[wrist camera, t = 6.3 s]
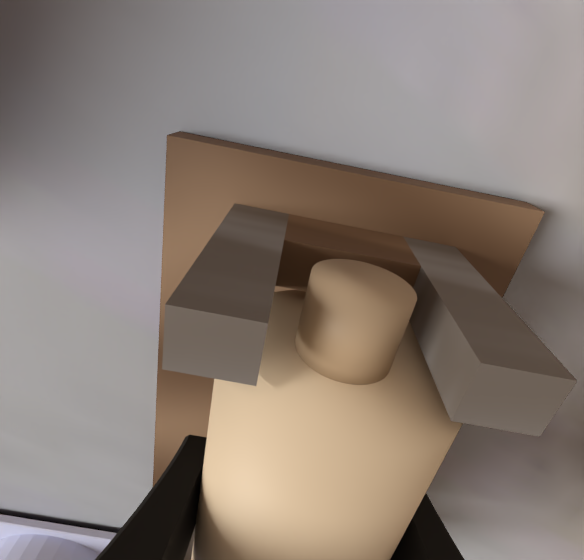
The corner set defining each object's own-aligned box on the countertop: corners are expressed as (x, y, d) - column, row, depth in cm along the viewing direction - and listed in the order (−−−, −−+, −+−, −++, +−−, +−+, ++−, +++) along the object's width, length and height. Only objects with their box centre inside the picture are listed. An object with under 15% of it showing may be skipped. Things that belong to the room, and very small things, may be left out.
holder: (371, 531, 18) (399, 740, 12) (159, 496, 18) (84, 695, 12) (525, 202, 11) (763, 327, 5) (179, 131, 11) (18, 181, 5)
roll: (325, 553, 15) (338, 743, 11) (200, 538, 15) (160, 729, 11) (444, 253, 10) (574, 398, 5) (246, 217, 9) (199, 338, 5)
